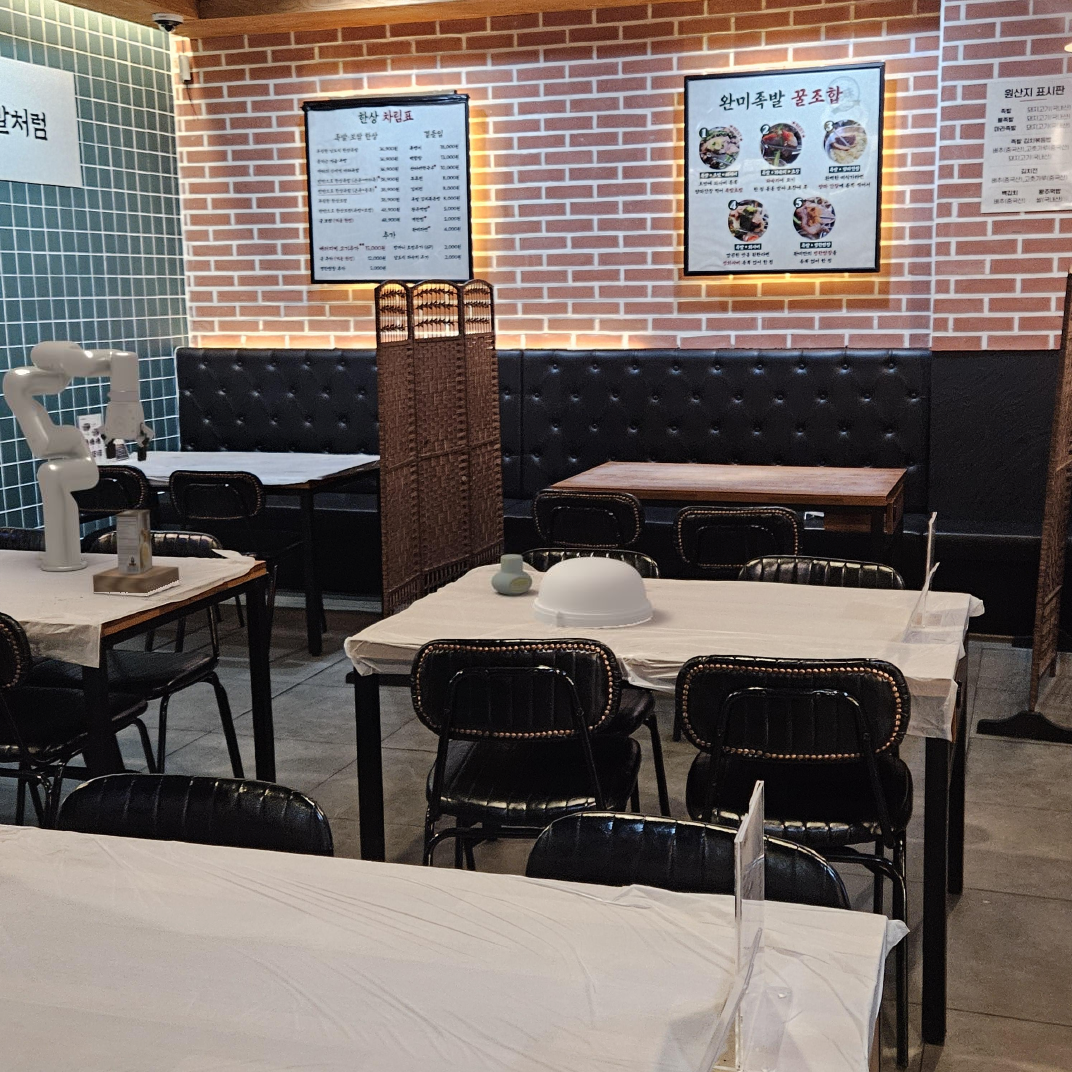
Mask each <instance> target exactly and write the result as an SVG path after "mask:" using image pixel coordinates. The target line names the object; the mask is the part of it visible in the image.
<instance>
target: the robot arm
mask: <svg viewBox="0 0 1072 1072" xmlns="http://www.w3.org/2000/svg"><path fill="white" fill-rule="evenodd" d="M30 360H31V363H32V364H33V365H30V366H19V367H15V368H11V369H9V370H7V372H6V373H5V374H4V376H3V379H2V392H3V397H4V399H5V402H6V404H7V406H8V407H9V409H10V410H11V412H12V413H13V415H14V416H15V418H16V420H17V421H18V423H19V426H20V430H21V431H22V433H23V436H24V438H25V441H26V443H27V445H28V447H29V449H30V452H31V453H32V455H33V456H34V457H35V458H36V459H39V460H48V461H46V462H43V463H42V464H41V465H40V466H39V468H38V470H37V473H36V477H37V483H38V485H39V491H40V493H41V500H42V511H43V526H44V527H43V528H44V540H45V541H44V543H45V552H44V551H43V552H42V551H40V552H37V554H36V556H35V559H36V560H37V561H40V560H42V563H41V565H40V568H41V570H43V571H48V572H67V571H76V570H81V569H84V568H86V567H87V565H88V563H87V561H85V560H82V553H81V538H80V536H81V535H80V534H81V532H80V520H79V519H80V518H79V506H78V503H77V501H76V500H75V498H74V497H73V495H72V494H71V492H76V491H82V490H88V489H92V488H94V487H96V485H97V484H98V483H99V479H100V472H99V467H98V465H97V462H96V460H95V457H94V455H93V453H92V450H91V447H90V445H89V444H88V442H87V440H86V438H85V435H84V434H83V432H82V431H81V430H80V429H79V428H78V427H77V426H75V425H72V424H71V425H70V424H59V425H56V424H55V423H54V422H53V420H52V418H51V417H50V415H49V413H48V410H47V409H46V408H45V406H43V405H42V404H41V403H40V402H39V401H38V400H36V399H35V398H34V397H33V396H49V395H51V396H52V395H53V396H54V395H57V394H60V393H63V391H65V390H66V388H67V387H68V386H69V385H70V383H71V382H72V381H73V379H74V378H75V377H76V378H83V379H84V378H85V379H86V378H89V379H90V378H102V377H103V378H108V377H109V387H110V388H109V389H110V390H109V391H108V392H107V393H106V394H107V395H106V396H107V397H109V398H110V401H108V402H107V405H106V411H105V420H104V421H105V422H104V424H102V425H101V426H98V427H97V431H98V433H99V435H100V438H101V439H102V441H103V444H104V445H106V446H105V447H106V457H107V458H106V459H107V460H111V459H116V457H117V450H116V449H117V446H116V443H115V441H116V440H124V441H125V440H127V441H133V440H134V441H135V442H136V444H137V445H138V446H137V447H136V448H137V449H136V450H137V451H136V452H137V454H136V455H137V462H144V461H146V460H147V456H148V455H147V453H148V452H147V448H148V446H149V444H150V443H151V442H152V441H153V438H154V435H155V433H156V432H155V431H154V430H153V428H150V427H148V426H147V425H146V423H145V414H144V408H143V405H142V404H143V403H142V402H140V373H139V372H140V368H139V367H140V365H139V355H138V353H137V352H134V351H126V350H125V351H123V350H120V349H115V348H107V349H105V348H104V349H103V348H102V349H101V348H100V349H99V348H97V349H83V348H82V346H80V345H79V344H78V342H77V343H76V342H75V341H71V340H46V341H41V342H38V343H36V344H35V345H34V346H33V347H32V348H31V351H30Z"/></svg>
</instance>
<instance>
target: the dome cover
mask: <svg viewBox="0 0 1072 1072" xmlns="http://www.w3.org/2000/svg"><path fill="white" fill-rule="evenodd" d="M531 611H532V612H531V616H532V618H533V617H534V618H533V619H535V620H536V621H538V620H539V621H538V622H540V621H541V622H540V623H543V622H544V623H543V624H546V623H547V625H550V624H553V625H552V626H554V625H555V626H558V627H557V628H560V627H559V626H569V627H603V626H619V625H627V624H633V623H637V622H640V621H644V620H646V619H648V618H650V617H651V616H652V615H653V605H652V602H651V600H649V598H647V591H646V586H645V583H644V580H643V578H642V575H641V573H639V572H638V570H637V569H636V568H635V567H634V566H632V565H630V564H629V563H626V562H625V561H622V560H618V559H615V558H614V559H613V558H608V557H601V556H600V557H599V556H586V557H585V556H583V557H574V558H568V559H565V560H562V561H559V562H557V563H555V564H554V565H552V566H551V567H550V568H549V569H548V570H547V571H546V573H544V575H543V578H542V579H541V583H540V585H539V590H538V595H537V597H536V598H535V599H534V600H533V604H532V609H531ZM555 626H554V627H555Z"/></svg>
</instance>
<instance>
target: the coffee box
mask: <svg viewBox="0 0 1072 1072" xmlns="http://www.w3.org/2000/svg"><path fill="white" fill-rule="evenodd" d="M150 511H151V510H150V509H126V510H124V511H121V512H119V513H117V514H115V531H116V535H115V536H116V547H117V548H116V549H117V550H116V551H117V565H118V566H117V567H118V570H119V574H142V573H144V572H145V571H147V570H149V569H150V568H152V567H153V566H154V565H153V553H152V551H153V550H152V536H151V535H152V534H151V516H150V515H151V514H150Z"/></svg>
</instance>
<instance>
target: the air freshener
mask: <svg viewBox="0 0 1072 1072" xmlns="http://www.w3.org/2000/svg"><path fill="white" fill-rule="evenodd" d="M523 561H524V557H523V556H522V554H515V553H514V554H513V553H512V554H511V553H510V554H504V555H501V557H500V571H497V572H495V574H494V575H493V576H492V578H491V582H490V583H491V586H492V588H493V589H494V591H497V592H498V593H499V594H502V595H509V596H519V595H523V594H524V593H526V592H528V591H529V589H531V588H532V585H533V579H532V577H531V575H530V574H529V573H528V572H526V571H524V564H523V563H524V562H523Z"/></svg>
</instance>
